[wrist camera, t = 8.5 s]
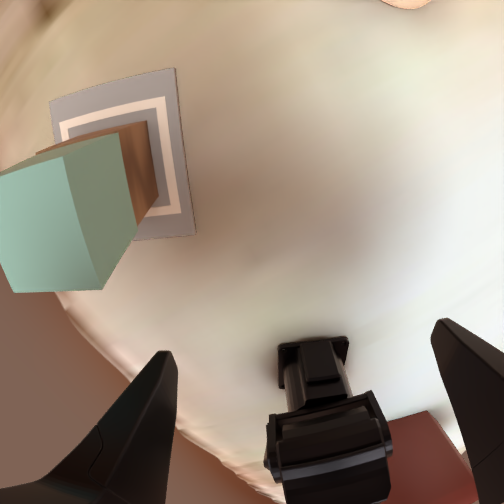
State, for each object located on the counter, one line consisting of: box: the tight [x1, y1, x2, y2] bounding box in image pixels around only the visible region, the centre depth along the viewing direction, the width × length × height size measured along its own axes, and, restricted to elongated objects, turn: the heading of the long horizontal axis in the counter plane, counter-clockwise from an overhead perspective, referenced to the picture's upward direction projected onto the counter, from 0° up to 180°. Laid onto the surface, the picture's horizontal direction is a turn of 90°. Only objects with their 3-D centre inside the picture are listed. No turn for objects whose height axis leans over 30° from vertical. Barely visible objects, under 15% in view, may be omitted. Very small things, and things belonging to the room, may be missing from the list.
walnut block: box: [36, 120, 159, 227], centre depth 16 cm, size 5×5×5 cm
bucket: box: [381, 410, 479, 504], centre depth 30 cm, size 24×22×25 cm
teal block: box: [0, 133, 138, 293], centre depth 11 cm, size 5×5×5 cm
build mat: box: [49, 68, 196, 241], centre depth 18 cm, size 11×9×1 cm
